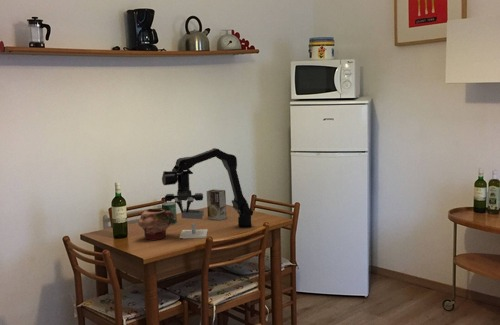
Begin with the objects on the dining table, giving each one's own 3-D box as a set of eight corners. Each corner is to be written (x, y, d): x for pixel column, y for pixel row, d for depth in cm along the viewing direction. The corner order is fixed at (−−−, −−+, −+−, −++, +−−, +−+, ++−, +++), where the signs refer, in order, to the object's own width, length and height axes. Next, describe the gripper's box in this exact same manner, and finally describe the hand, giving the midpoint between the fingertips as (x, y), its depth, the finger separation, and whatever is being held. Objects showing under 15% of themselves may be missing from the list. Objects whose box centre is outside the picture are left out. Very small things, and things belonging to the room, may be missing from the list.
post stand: (207, 231, 284) (207, 220, 284) (206, 237, 271) (205, 226, 271) (182, 232, 284) (182, 221, 283) (179, 238, 271) (179, 227, 270)
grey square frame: (203, 214, 282) (203, 210, 282) (201, 219, 272) (202, 214, 272) (183, 213, 282) (184, 208, 282) (181, 218, 272) (181, 213, 272)
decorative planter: (165, 231, 287) (164, 205, 285) (181, 234, 279) (179, 207, 277) (133, 239, 272) (132, 211, 271) (148, 243, 264) (147, 215, 262)
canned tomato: (178, 221, 309) (177, 201, 307) (175, 224, 301) (174, 204, 300) (164, 221, 310) (163, 202, 308) (160, 224, 302) (159, 205, 300)
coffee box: (227, 218, 313) (225, 190, 311) (220, 220, 307) (219, 192, 305) (214, 216, 318) (212, 189, 316) (207, 218, 312) (206, 190, 310)
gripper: (162, 186, 267) (163, 218, 269) (200, 185, 267) (201, 217, 269) (165, 182, 278) (167, 213, 280) (202, 182, 278) (203, 212, 280)
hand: (184, 214), depth 277 cm, fingers closed on grey square frame, 2 cm apart
